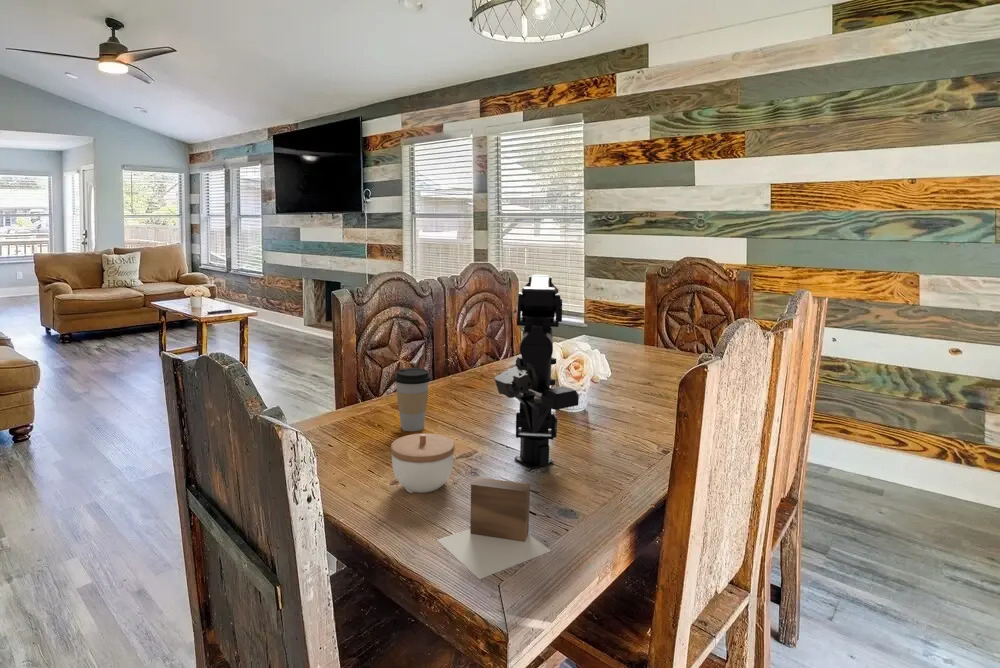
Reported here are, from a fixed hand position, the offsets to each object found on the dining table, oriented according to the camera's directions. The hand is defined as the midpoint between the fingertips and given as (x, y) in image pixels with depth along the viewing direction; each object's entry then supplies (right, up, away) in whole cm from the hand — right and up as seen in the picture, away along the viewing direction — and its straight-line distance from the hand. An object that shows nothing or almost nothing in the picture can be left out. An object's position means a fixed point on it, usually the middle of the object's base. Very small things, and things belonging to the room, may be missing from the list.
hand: (534, 430), depth 114 cm
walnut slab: (-7, -15, -14) cm, 22 cm away
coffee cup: (-29, -6, +38) cm, 48 cm away
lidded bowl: (-22, -12, +4) cm, 26 cm away
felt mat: (-8, -16, -18) cm, 25 cm away
